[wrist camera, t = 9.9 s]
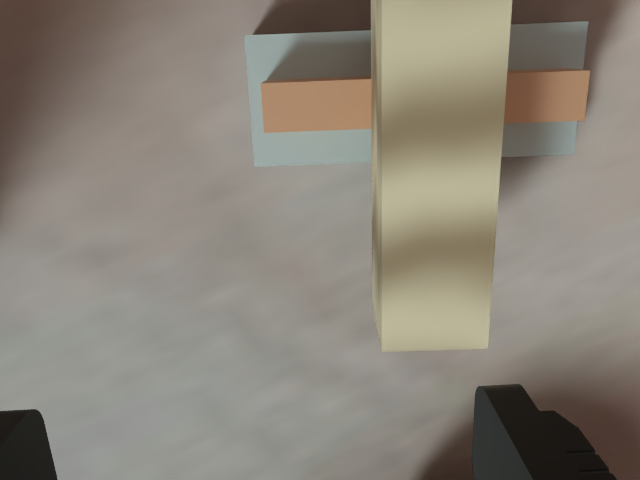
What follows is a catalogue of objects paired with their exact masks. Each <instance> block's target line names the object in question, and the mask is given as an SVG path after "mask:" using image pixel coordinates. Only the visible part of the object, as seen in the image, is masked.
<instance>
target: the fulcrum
mask: <svg viewBox="0 0 640 480" xmlns="http://www.w3.org/2000/svg"><path fill="white" fill-rule="evenodd" d="M588 23H589V21H582V22H558V23H533V24H511V27H510V41H509V55H508V69H507V84H506V98H505V112H504V126H503V140H502V154H501V157H527V156H554V155H574V148H575V139H576V130H577V121H584V120H585V112H586V103H587V94H588V86H589V77H590V70H583V67H584V58H585V49H586V40H587V32H588ZM244 38H245V51H246V63H247V76H248V89H249V102H250V115H251V128H252V140H253V153H254V166H255V167H260V166H287V165H314V164H340V163H367V162H372V118H371V30H363V31H339V32H314V33H290V34H266V35H244Z"/></svg>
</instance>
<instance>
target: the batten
mask: <svg viewBox="0 0 640 480" xmlns="http://www.w3.org/2000/svg"><path fill="white" fill-rule="evenodd" d="M511 13H512V0H371V118H372V288H373V310H374V315H375V320H376V325H377V330H378V335H379V340H380V345H381V351H382V352H392V351H425V350H458V349H488V337H489V323H490V309H491V295H492V281H493V267H494V252H495V238H496V224H497V210H498V196H499V182H500V168H501V154H502V140H503V126H504V112H505V98H506V84H507V69H508V55H509V41H510V27H511Z"/></svg>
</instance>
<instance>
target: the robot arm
mask: <svg viewBox="0 0 640 480" xmlns="http://www.w3.org/2000/svg"><path fill="white" fill-rule="evenodd" d="M472 467H473V474H474V479H475V480H617V479H616V478H615V477H614V475H613V474H610V473H609V469H608V467H607V466H606V465H605V463H604V462H603V460H602V459H601V458H600V456H599V455H596V454H595V450H594V448H593V447H592V446H591V444H590V443H589V442H588V440H587V439H586V438H585V436H584V435H583V434H582V432H581V431H580V430H579V428H577V427H576V426H575V425H573V424H572V423H570V422H569V421H567V420H566V419H565V418H563V417H562V416H560V415H559V414H558V413H556V412H555V411H539V410H538V409H537V407H536V406H535V404H534V403H533V401H532V400H531V398H530V397H529V395H528V394H527V392H526V391H525V389H524V388H523V387H522V386H521V385H520V384H510V385H492V386H479V387H477V389H476V393H475V406H474V425H473V444H472ZM0 480H57V475H56V471H55V467H54V462H53V458H52V454H51V450H50V445H49V441H48V437H47V433H46V428H45V424H44V420H43V417H42V415H41V413H40V412H39V411H38V410H35V409H31V410H13V411H0Z"/></svg>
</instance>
